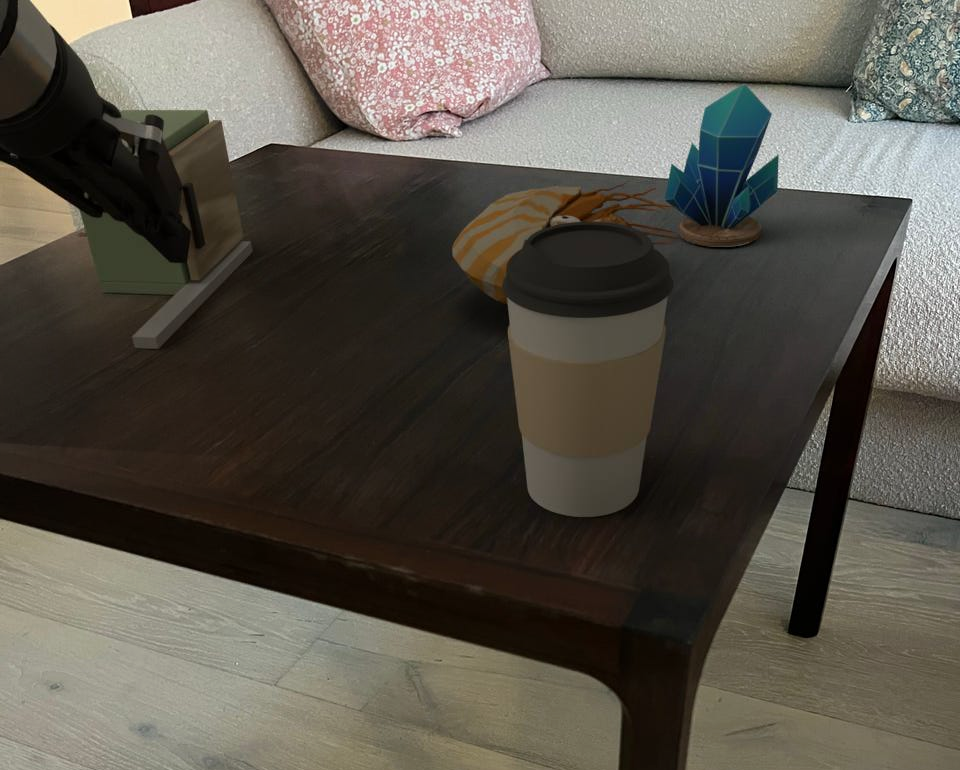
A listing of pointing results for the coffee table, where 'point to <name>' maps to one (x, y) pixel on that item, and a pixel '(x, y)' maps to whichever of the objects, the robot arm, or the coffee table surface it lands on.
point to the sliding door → (207, 197)
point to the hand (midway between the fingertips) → (180, 246)
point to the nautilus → (531, 228)
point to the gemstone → (724, 173)
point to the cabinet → (141, 266)
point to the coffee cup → (586, 360)
